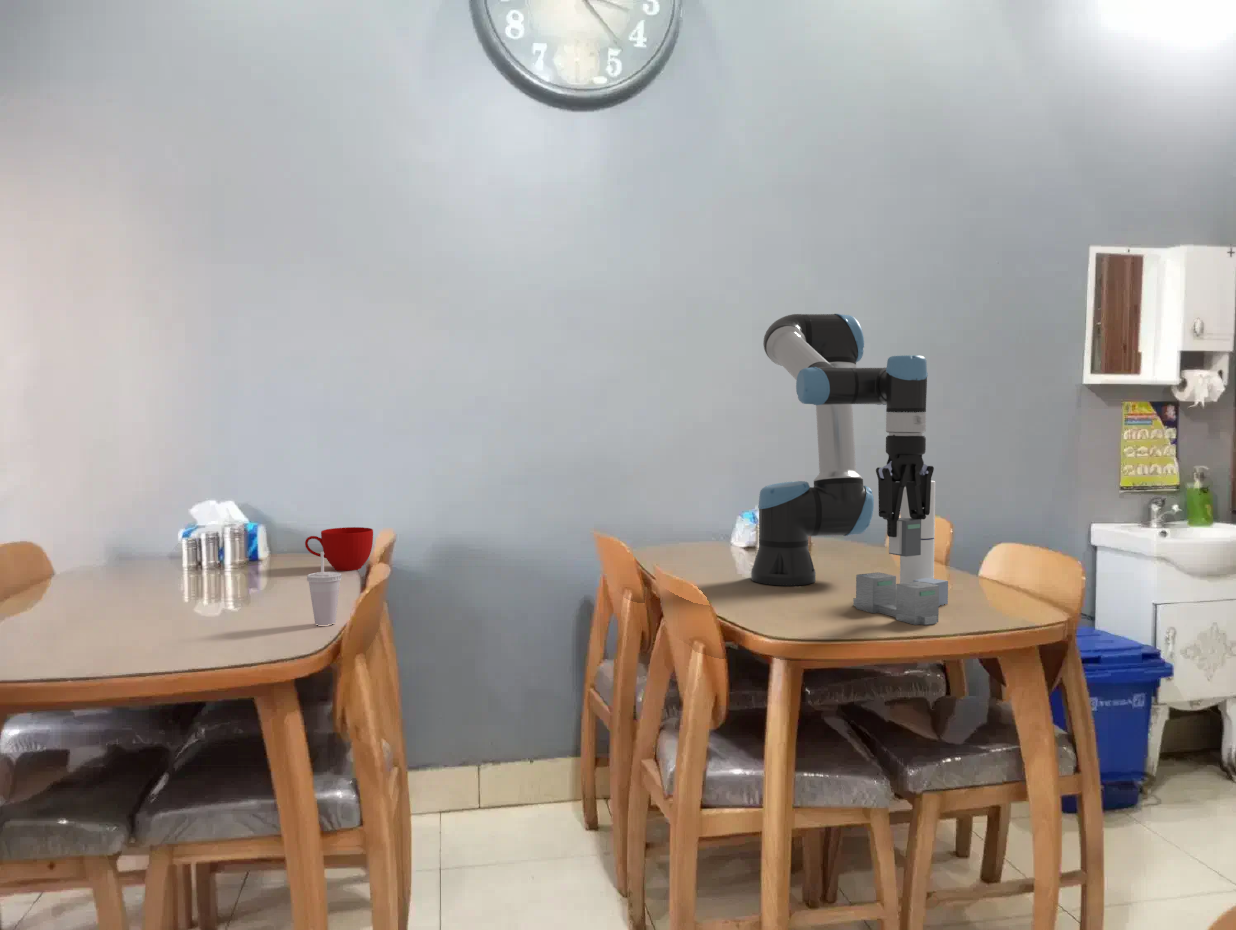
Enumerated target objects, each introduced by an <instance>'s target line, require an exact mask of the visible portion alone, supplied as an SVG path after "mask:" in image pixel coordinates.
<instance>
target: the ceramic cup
mask: <svg viewBox="0 0 1236 930" xmlns="http://www.w3.org/2000/svg"><path fill="white" fill-rule="evenodd" d="M320 536H321V537H319V536H317V535H316V536H315V535H310V536H309V537H307V538H306V539H305V542H304V545H305V549H306V550H307V551H308V552H309V553H311V554H312V555H314V556H316V557H320V558H321V553H318V552H316V551H314V550H312V549H311V548H310V546H309V543H308V542H309V541H310V540H316V541H318V542H319V543H320V544H321V546H322V552H324V559H326V560H327V562H328V563H329V564H330V566H332V568H333V569H334V570H336V571H342V572H345V571H347V572H348V571H349V572H351V571H358V570H360V569H362V567H363V566H364V565H365V564H366V562H367V561H368V559H369V558H370V556H371V553H372V549H373V543H374V529H373V528H369V527H359V526H357V527H356V526H354V527H353V526H352V527H351V526H350V527H349V526H348V527H335V528H333V527H332V528H328V529H323V530H321V532H320Z"/></svg>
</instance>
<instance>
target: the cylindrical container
mask: <svg viewBox="0 0 1236 930" xmlns="http://www.w3.org/2000/svg"><path fill="white" fill-rule="evenodd" d="M923 509H924V508H923ZM915 511H916V510H915ZM925 516H926V518H925V519H921V555H916V556H907V557H905V556H899V560H900V561H899V584H901V583H910V582H913V580H917V579H923V578H933V579H935V532H936V530H935V529H936V528H935V527H936V526H935V525H936V521H935V519H936V481H935V480H931V496H930V513H929V515H925ZM900 518H911V517H910V513H909V506H908V499H907V491H906V486H905V487H904V491H903V497H902V503H901V509H900Z"/></svg>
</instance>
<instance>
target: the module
mask: <svg viewBox="0 0 1236 930" xmlns="http://www.w3.org/2000/svg"><path fill="white" fill-rule="evenodd" d="M898 521H902V554H894V553H889V552H888V555H894V556H899V557H900V556H905V557H907V556H916V555H921V520H920V519H912V518H901V517H899V520H898Z"/></svg>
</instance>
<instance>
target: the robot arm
mask: <svg viewBox="0 0 1236 930" xmlns="http://www.w3.org/2000/svg"><path fill="white" fill-rule="evenodd" d="M763 337H764V338H763V349H764V352H765V355H766V356H767V358H768V359H769V360H771V362H773V363H774V364H776V365H778V366H782V367H783V368H784V369H785V370H786V371H787V372H788V373H789V374H790V375H791V376H792V377H793V378H794V379H795V380H796V383H795V384H796V385H795V389H796V394H797V395H796V396H797V399H798V400H799V402H800V403H801V404H803V405H813V406H815V411H816V412H815V414H816V430H817V448H818V453H817V454H818V469H819V474H818V475H817V476H816V477H815V478H814V479H813V487H810V484H809V482H807V481H805V480H804V481H803V480H797V481H786V482H785V481H784V482H779V483H772V484H769V485H765V486H764V487H762V488H761V489H760V492H759V496H758V497H759V500H758V506H757V508H758V549H757V552H756V554H755V559H754V562H753V565H752V567H751V573H750V575H751V577H750V578H751V581H753V582H755V583H759V584H764V585H771V586H785V587H786V586H789V587H790V586H803V585H805V586H806V585H810V584H811V585H812V584H813V583H815V582H816V579H817V577H816V576H817V575H816V574H817V573H816V570H815V567H814V563H813V559H812V556H811V552H810V549H809V537H825V536H826V537H827V536H832V537H834V536H843V537H848V536H854V535H855V536H857V535H861V534H863V533H865V532H866V530H867V529H868V528H869V526H870V525H871V521H872V519H873V514H874V508H875V507H874V503H875V499H874V495H873V491H872V489H871V488H870V487H869V486H867V485H864V478H863V477H862V475H861V474H859V473H858V472H857V466H856V465H857V464H856V451H855V450H856V448H855V432H854V416H853V415H854V413H853V405H879V406H880V405H882V406H886V409H885V410H886V411H885V412H886V414H885V416H886V418H885V432H886V433H888V435H887V436H885V453H886V454H887V456H888V458H887V461H886V465H884V466H881V467H880V466H879V467H877V468H876V469H875V473H876V476H877V481H878V484H877V485H878V516H879V517H880V518H882V519H884V520H886V523H887V524H886V526H887V527H886V534H887V535H886V536H887V537H888V554H889V553H894V554H902V521H898V520H899V518H900V516H901V503H902V497H903V491H904V487H905V486H906V491H907V499H908V506H909V513H910V517H911V518H912V519H920V520H921V519H925V518H926V516H925V515H929V513H930V496H931V481H932V476H933V473H934V471H935V468H934V466H933V465H927V464H925V461H924V459H923V455H924V454H925V453H926V452H927V451H926V446H927V445H926V441H927V439H926V437H925V435H923V433H924V434H925V433H926V430H927V429H926V427H927V425H926V424H927V423H926V422H927V421H926V420H927V389H928V376H929V374H928V368H927V365H928V364H927V358H926V357H925V356H923V355H918V354H917V355H912V354H911V355H910V354H909V355H905V354H904V355H892V356H889V357H888V358H887V360H886V361H887V362H886V367H857V363H859V362H860V361H861V360H862V359H863V356H864V348H865V337H864V332H863V329H862V326H861V324H860V322H859V321H858V320H857V319H856V317H855V316H852V315H850V314H840V313H828V314H827V313H823V314H822V313H820V314H817V313H816V314H814V313H813V314H812V313H811V314H810V313H803V314H802V313H794V314H787V315H785V316H782V317H780V318H779V319H777V320H775V321H774V322H773V323H772V324H771V325H769V327H768V329H767V330H766V331H765V334H764V336H763ZM923 508H924V509H923ZM915 510H916V511H915Z"/></svg>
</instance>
